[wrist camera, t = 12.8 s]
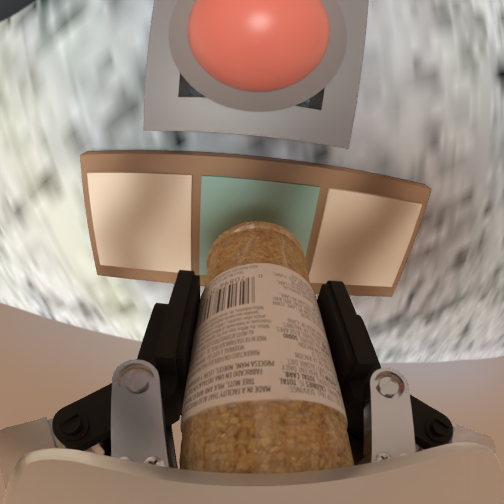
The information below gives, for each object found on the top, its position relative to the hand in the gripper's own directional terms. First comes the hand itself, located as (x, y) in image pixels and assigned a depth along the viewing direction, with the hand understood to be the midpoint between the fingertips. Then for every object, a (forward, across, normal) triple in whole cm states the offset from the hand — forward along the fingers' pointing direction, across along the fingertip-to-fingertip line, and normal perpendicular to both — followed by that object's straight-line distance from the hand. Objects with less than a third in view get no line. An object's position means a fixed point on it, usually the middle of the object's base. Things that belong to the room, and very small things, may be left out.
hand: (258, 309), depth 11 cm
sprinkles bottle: (+4, 0, 0) cm, 4 cm away
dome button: (+6, +1, -10) cm, 12 cm away
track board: (+7, 0, 0) cm, 7 cm away
